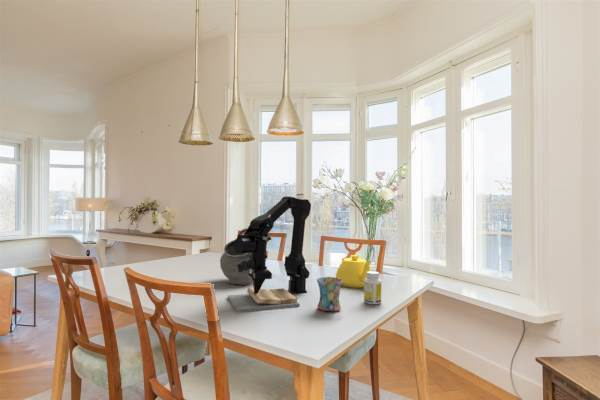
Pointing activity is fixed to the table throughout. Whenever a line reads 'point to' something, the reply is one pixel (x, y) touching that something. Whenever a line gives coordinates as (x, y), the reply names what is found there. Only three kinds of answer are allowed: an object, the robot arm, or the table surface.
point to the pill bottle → (372, 288)
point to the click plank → (264, 296)
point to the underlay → (254, 304)
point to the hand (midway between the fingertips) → (255, 293)
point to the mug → (329, 293)
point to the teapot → (353, 271)
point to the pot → (229, 264)
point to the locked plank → (284, 296)
